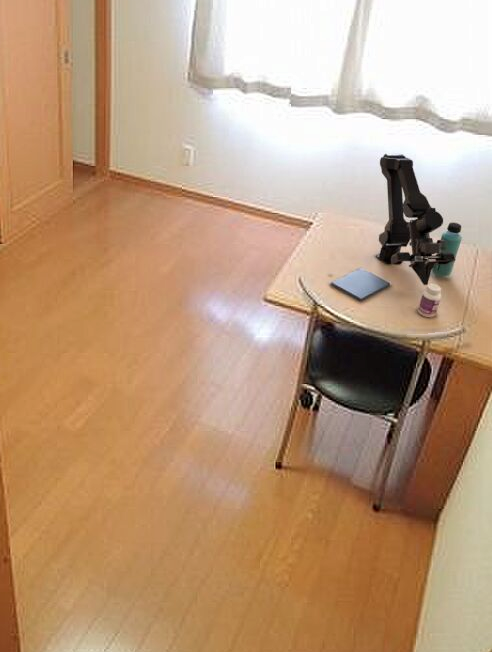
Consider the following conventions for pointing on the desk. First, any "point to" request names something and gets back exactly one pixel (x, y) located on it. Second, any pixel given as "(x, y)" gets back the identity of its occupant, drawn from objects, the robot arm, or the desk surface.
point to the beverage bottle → (449, 248)
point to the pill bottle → (430, 301)
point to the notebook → (360, 284)
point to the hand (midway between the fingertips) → (425, 284)
